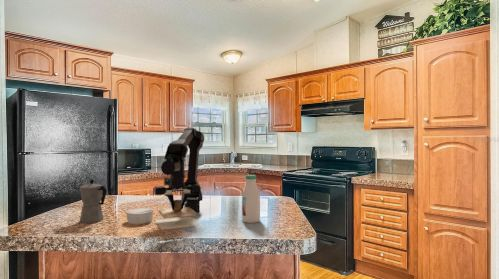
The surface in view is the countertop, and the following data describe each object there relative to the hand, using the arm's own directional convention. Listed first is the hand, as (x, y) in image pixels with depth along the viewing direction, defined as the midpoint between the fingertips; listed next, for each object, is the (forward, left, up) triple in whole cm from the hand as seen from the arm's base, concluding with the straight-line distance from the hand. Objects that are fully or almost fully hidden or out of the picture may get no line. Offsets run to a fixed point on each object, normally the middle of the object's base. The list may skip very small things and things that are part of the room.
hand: (177, 209), depth 130 cm
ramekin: (+14, -9, -6) cm, 18 cm away
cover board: (0, 0, -2) cm, 2 cm away
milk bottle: (-30, +9, -6) cm, 32 cm away
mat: (0, 0, -6) cm, 6 cm away
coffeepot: (+32, -21, -6) cm, 39 cm away
